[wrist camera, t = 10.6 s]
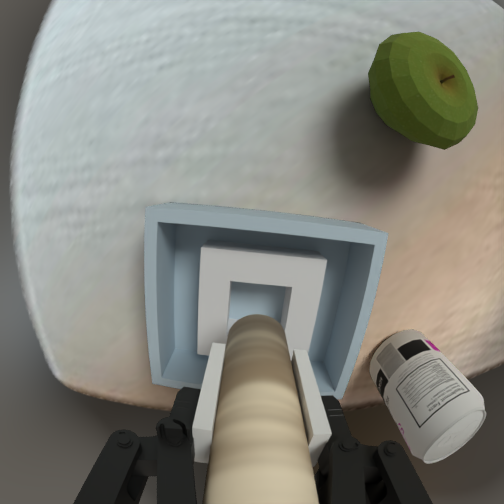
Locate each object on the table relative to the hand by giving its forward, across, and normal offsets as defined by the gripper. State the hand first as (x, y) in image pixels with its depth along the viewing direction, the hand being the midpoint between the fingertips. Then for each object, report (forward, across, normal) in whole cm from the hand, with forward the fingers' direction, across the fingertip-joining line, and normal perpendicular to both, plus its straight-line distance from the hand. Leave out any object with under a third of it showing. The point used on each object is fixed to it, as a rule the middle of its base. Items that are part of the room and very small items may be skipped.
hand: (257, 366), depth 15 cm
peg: (+3, 0, 0) cm, 3 cm away
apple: (+12, +12, +21) cm, 27 cm away
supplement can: (+12, +18, -7) cm, 23 cm away
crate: (+11, 0, 0) cm, 11 cm away
